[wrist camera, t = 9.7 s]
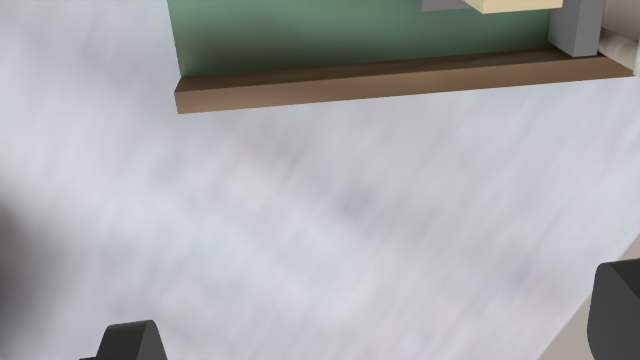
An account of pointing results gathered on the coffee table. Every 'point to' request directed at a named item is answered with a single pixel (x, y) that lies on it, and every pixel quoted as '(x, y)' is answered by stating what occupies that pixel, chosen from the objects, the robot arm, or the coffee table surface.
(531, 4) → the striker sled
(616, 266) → the robot arm
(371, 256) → the coffee table surface
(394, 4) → the channel
